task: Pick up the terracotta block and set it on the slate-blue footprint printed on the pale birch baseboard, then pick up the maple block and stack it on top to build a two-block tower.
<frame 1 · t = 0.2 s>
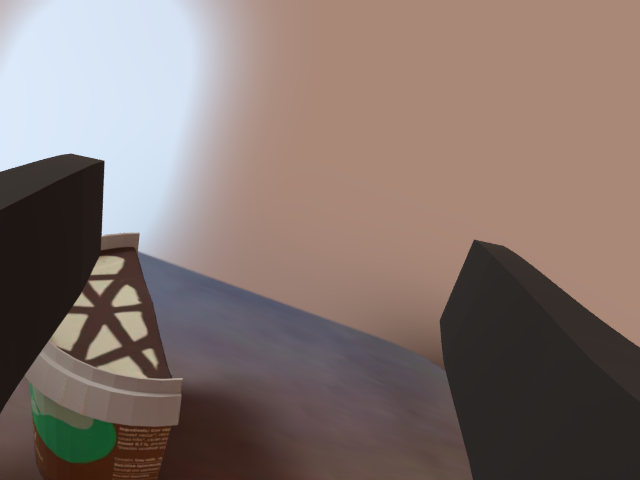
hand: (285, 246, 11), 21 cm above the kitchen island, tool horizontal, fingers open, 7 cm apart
food container: (74, 448, 30), on the kitchen island
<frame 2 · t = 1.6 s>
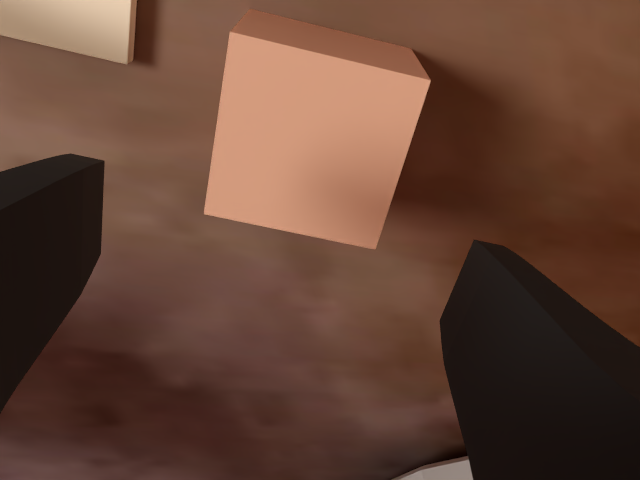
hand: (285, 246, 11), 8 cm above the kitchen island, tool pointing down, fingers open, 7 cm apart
terracotta base block: (313, 107, 18), on the kitchen island
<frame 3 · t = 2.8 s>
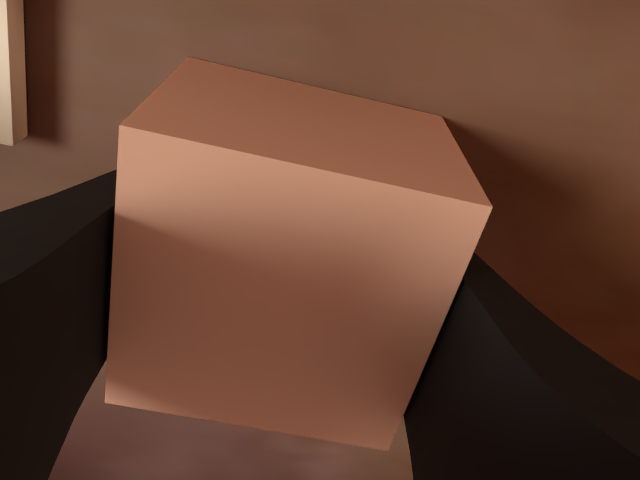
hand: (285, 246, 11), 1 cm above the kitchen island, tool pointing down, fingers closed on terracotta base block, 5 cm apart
terracotta base block: (292, 201, 12), on the kitchen island, touching gripper
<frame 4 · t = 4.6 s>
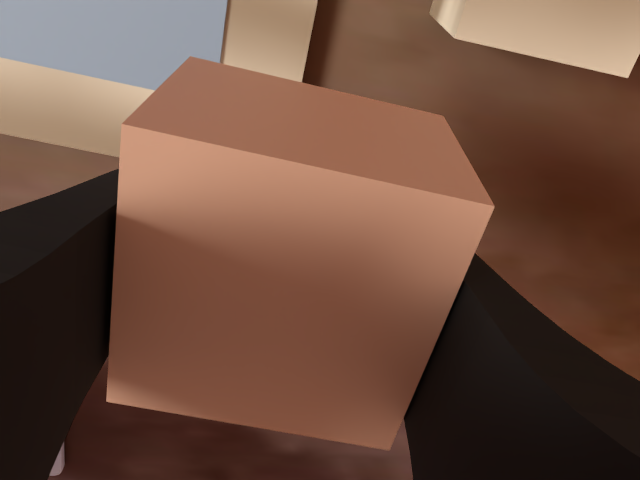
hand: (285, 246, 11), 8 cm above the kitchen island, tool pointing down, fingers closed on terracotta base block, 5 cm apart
terracotta base block: (293, 200, 12), point 7 cm above the kitchen island, touching gripper
when the fingers open (3 cm above the kitchen island, at t = 6.6 s): terracotta base block stays where it is, resting on baseboard.
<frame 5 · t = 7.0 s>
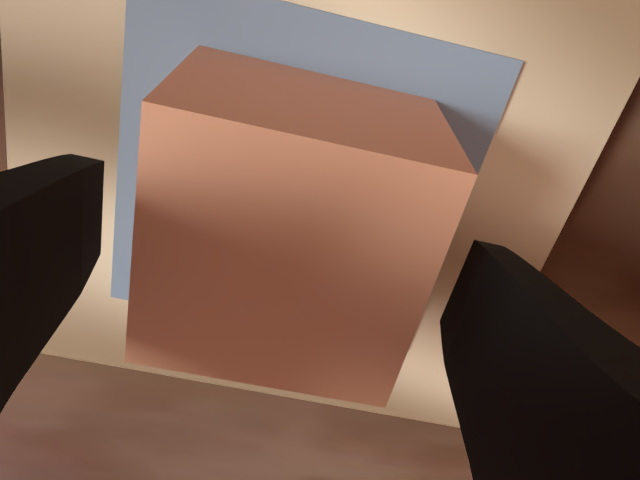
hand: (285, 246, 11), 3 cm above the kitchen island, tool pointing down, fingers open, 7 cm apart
baseboard: (293, 181, 14), on the kitchen island
terracotta base block: (295, 180, 13), point 1 cm above the kitchen island, touching baseboard
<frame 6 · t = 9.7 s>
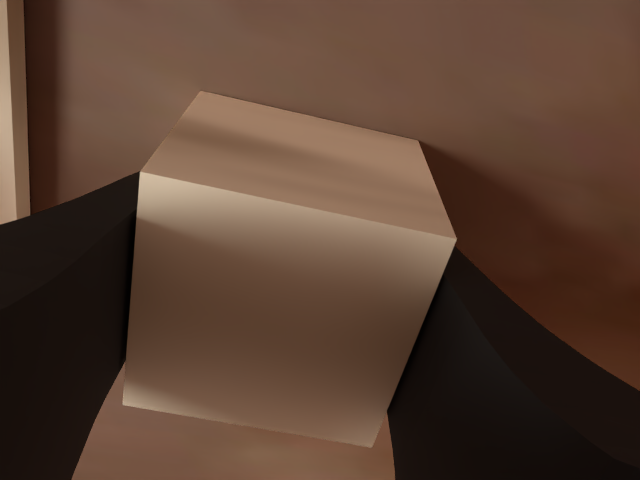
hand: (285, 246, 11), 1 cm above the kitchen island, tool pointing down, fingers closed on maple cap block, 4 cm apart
maple cap block: (289, 212, 12), on the kitchen island, touching gripper
when the fingers open (7 cm above the kitchen island, at t = 13.6 s): maple cap block stays where it is, resting on terracotta base block.
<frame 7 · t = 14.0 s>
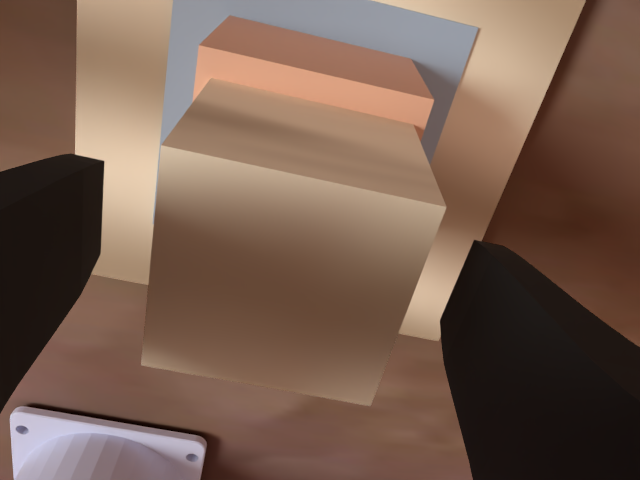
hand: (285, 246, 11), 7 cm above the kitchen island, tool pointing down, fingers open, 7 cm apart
baseboard: (301, 127, 17), on the kitchen island
maple cap block: (293, 193, 13), point 5 cm above the kitchen island, touching terracotta base block
terracotta base block: (302, 125, 16), point 1 cm above the kitchen island, touching baseboard, maple cap block
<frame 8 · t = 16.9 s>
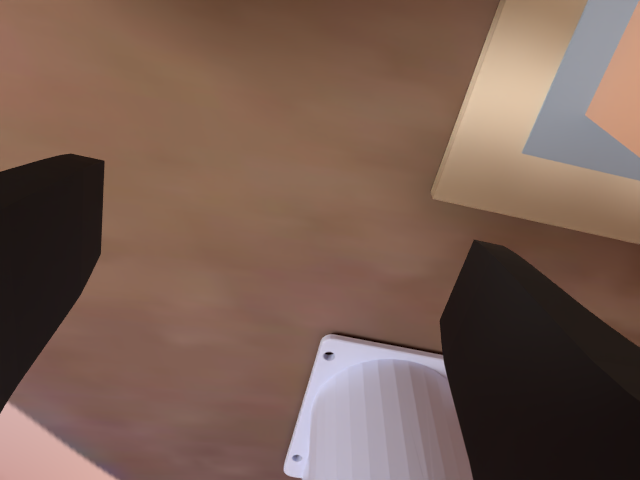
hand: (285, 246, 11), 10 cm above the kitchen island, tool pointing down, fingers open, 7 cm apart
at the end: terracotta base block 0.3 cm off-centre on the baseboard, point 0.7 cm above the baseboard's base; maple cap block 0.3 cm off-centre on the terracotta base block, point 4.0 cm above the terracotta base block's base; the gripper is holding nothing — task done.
